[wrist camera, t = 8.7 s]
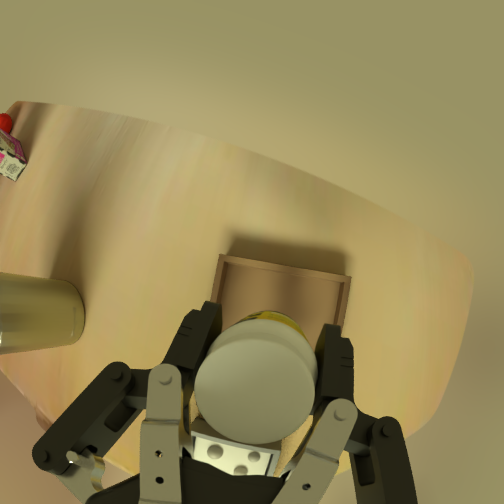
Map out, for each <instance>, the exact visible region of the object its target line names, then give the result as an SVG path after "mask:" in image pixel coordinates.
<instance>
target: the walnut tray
mask: <svg viewBox="0 0 504 504" xmlns="http://www.w3.org/2000/svg"><path fill="white" fill-rule="evenodd" d="M350 283H351V277H350V276H344V275H338V274H332V273H326V272H320V271H314V270H309V269H303V268H297V267H291V266H285V265H280V264H274V263H268V262H262V261H257V260H251V259H245V258H240V257H234V256H228V255H223V254H219V259H218V264H217V269H216V274H215V279H214V284H213V289H212V295H211V300H210V302H215V303H219V304H222V321H223V325H222V332H223V331H225V330H226V329H228V328H229V327H230V326H232V325H234V324H235V323H237V322H239V321H240V320H241V319H243V318H245V317H246V316H248V315H250V314H253V313H256V312H260V311H277V312H280V313H283V314H285V315H287V316H289V317H290V318H292V319H293V320H294V321H295V322H296V323H297V324H298V325H299V326H300V327H301V329H302V331H303V332H304V334H305V336H306V338H307V340H308V342H309V344H310V346H311V347H312V349H313V352H314V351H315V346H316V343H317V340H318V338H319V335H320V333H321V330H322V328H323V325H324V323H327V324H334V325H340V326H341V333H342V328H343V323H344V318H345V313H346V307H347V301H348V296H349V290H350ZM222 332H221V333H222Z"/></svg>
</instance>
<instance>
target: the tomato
mask: <svg viewBox="0 0 504 504" xmlns="http://www.w3.org/2000/svg"><path fill="white" fill-rule="evenodd" d="M11 127H12V120H11V117H10V116H9V115H8V114H6V113H2V114H0V128H1V129H2V130H3V131H5V132H6V133H8V134H9V132H10V130H11Z"/></svg>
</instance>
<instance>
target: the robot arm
mask: <svg viewBox="0 0 504 504" xmlns="http://www.w3.org/2000/svg"><path fill="white" fill-rule="evenodd" d="M84 317H85V315H84V307H83V303H82V300H81V297H80V295H79V293H78V291H77V289H76V288H75V287H74V286H73V285H72V284H71V283H69V282H67V281H63V280H55V279H47V278H39V277H31V276H24V275H17V274H10V273H3V272H0V355H2V354H11V353H18V352H26V351H33V350H40V349H46V348H53V347H59V346H65V345H71V344H73V343H75V342H76V341H77V340H78V339H79V337H80V336H81V334H82V331H83V327H84ZM222 325H223V321H222V304H219V303H215V302H210V301H205V302H204V304H203V306H202V308H201V311H199V310H194V309H193V310H192V311H190V312H189V313H188V314H187V315H186V316H185V317H184V319H183V321H182V323H181V325H180V327H179V329H178V331H177V334H176V335H175V337H174V339H173V341H172V344H171V346H170V348H169V350H168V352H167V354H166V356H165V358H164V360H163V361H162V363H161V364H160V365H157V366H155V367H154V368H152V369H147V370H143V369H130V368H129V367H128V365H126V364H125V363H123V362H112V363H110V364H109V365H107V366H106V367H105V368H104V369H103V370H102V372H101V373H100V374H99V375H98V376H97V377H96V378H95V379H94V380H93V381H92V382H91V383H90V384H89V385H88V386H87V388H86V389H85V390H84V391H83V392H82V393H81V394H80V395H79V396H78V397H77V398H76V399H75V400H74V402H73V403H72V404H71V405H70V406H69V407H68V408H67V409H66V410H65V411H64V412H63V414H62V415H61V416H60V417H59V418H58V419H57V420H56V421H55V422H54V424H53V425H52V426H51V427H50V428H49V429H48V430H47V431H46V433H45V434H44V435H43V436H42V437H41V438H40V439H39V441H38V442H37V443H36V444H35V445H34V447H33V450H32V457H33V460H34V462H35V464H36V465H37V466H38V467H39V468H40V469H42V470H44V471H47V472H50V473H51V474H54V475H55V476H56V477H57V478H58V479H59V480H60V481H61V482H62V483H63V484H64V485H65V486H66V487H67V488H68V490H70V492H71V493H73V494H74V496H75V497H76V498H77V499H78V500H79V501H81V502H82V503H83V504H318V503H319V501H320V500H321V498H322V497H323V495H324V493H325V492H326V490H327V488H328V486H329V484H330V483H331V481H332V479H333V477H334V475H335V473H336V471H337V469H338V466H339V457H340V455H341V453H342V451H343V450H345V451H348V452H349V457H350V462H351V468H352V474H353V479H354V486H355V492H356V499H357V504H418V503H417V496H416V491H415V486H414V480H413V475H412V471H411V466H410V462H409V457H408V453H407V449H406V445H405V441H404V437H403V433H402V429H401V426H400V424H399V422H398V421H397V420H396V419H395V418H393V417H389V416H385V417H382V418H380V419H377V418H375V417H372V416H369V415H367V414H364V413H363V412H361V411H360V410H359V409H358V408H357V407H356V405H355V403H354V397H353V393H354V369H353V367H354V360H353V359H354V352H353V346H352V344H351V342H350V340H349V338H342V337H341V326H340V325H334V324H327V323H324V325H323V328H322V330H321V333H320V335H319V338H318V340H317V343H316V346H315V351H314V354H315V357H316V361H317V367H318V378H317V383H316V387H315V397H314V402H313V406H312V410H311V412H310V414H309V415H313V422H312V424H311V426H310V428H309V429H308V431H307V433H306V435H305V437H304V438H303V440H302V442H301V444H300V445H299V447H298V449H297V450H296V452H295V454H294V455H293V457H292V458H291V460H290V461H289V462H288V464H287V465H286V466H285V468H284V469H283V471H282V472H281V474H280V475H279V477H271V476H265V475H231V474H228V473H226V472H224V471H222V470H220V469H218V468H216V467H214V466H212V465H211V464H209V463H205V462H202V461H198V460H195V459H194V451H193V442H192V438H191V414H190V398H191V396H192V393H193V391H194V386H195V379H196V376H197V373H198V370H199V368H200V366H201V365H202V363H203V361H204V360H205V357H206V355H207V352H208V350H209V348H210V346H211V345H212V343H213V342H214V341H215V339H216V338H217V337H218V336H219V335H220V334H221V332H222ZM143 409H146V417H145V420H143V421H142V424H141V431H140V473H139V474H137V475H135V476H133V477H130V478H128V479H126V480H124V481H122V482H120V483H118V484H115V485H113V486H111V487H109V488H107V489H103V487H102V484H101V478H102V475H103V474H104V471H105V463H104V461H103V459H102V458H103V457H104V455H105V454H106V453H107V452H108V451H109V450H110V448H111V447H112V446H113V445H114V444H115V443H116V441H117V440H118V439H119V438H120V437H121V435H122V434H123V433H124V432H125V431H126V429H127V428H128V427H129V426H130V425H131V424H132V422H133V421H134V420H135V419H136V418H137V416H138V415H139V414H140V413H141V412H142V410H143ZM160 454H161V457H159V455H160Z"/></svg>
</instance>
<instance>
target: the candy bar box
mask: <svg viewBox="0 0 504 504" xmlns="http://www.w3.org/2000/svg"><path fill="white" fill-rule="evenodd" d="M26 165H27V162H26V159H25V156H24V153H23V150H22V147H21V144H20V141H18V140H17V139H15V138H14V137H12V136H11V135H9V134H8V133H6V132H5V131H3V130H2V129H1V128H0V174H2V175H4V176H5V177H8V178H9V179H11V180H13V181H16V180H17V178H18V177H19V175H20V174H21V172H22V171H23V169H24V168H25V166H26Z"/></svg>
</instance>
